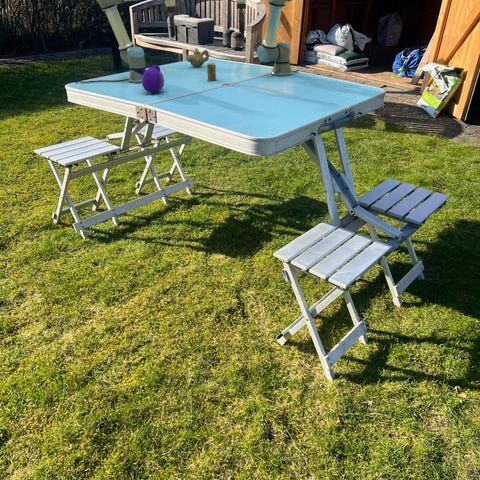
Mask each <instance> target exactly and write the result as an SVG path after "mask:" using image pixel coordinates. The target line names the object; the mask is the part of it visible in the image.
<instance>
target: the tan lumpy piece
mask: <svg viewBox="0 0 480 480" xmlns="http://www.w3.org/2000/svg"><path fill="white" fill-rule="evenodd" d="M204 54H205V56H204ZM209 59H210V54H209V51H208V50H207V49H204V50H202V51H200V50H199V49H198V48H195V49H194V51H193V54H191V53H190V54H187V56H186V57H185V60H186V62H188V63H190V65H191V67H192V68H193V67H194V68H200V67H202V66H203V65H204V64H205V63H206V62H208V61H209Z"/></svg>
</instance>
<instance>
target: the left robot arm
mask: <svg viewBox="0 0 480 480" xmlns="http://www.w3.org/2000/svg"><path fill="white" fill-rule="evenodd" d="M95 1H96V3H98V4H99V7H100V9H101V11H102V12H104V13H105V15H106V17H107V19H108V22H109V24H110V26H111V28H112V31H113V33H114V36H115V38H116V40H117V43H118V45H119V46H118V50H119V53H120V54H119V55H120V59H121V60H122V61H123V62H124V63H125V64H128V66H129V76H128V78H124V79H118V80H117V79H116V80H115V79H114V80H107V79H105V80H104V79H99V80H97V79H96V80H88V81H86V80H85V81H82V80H76V81H75V82H74V84H77V83H82V84H88V83H99V82H100V83H101V82H103V83H105V82H106V83H115V82H116V83H118V82H119V83H120V82H125V81H126V82H127V81H128V82H129V83H133V84H142V76H143V75H141V74H139V73H137V72H135V71H134V70H147V67H146V59H145V52H144V51H145V50H144V49H143V48H142V47H140V46H135V44H134V42H132V41H131V39H130V37H129V34H128V33H127V29H126V28H125V25H124V23H123V21H122V18H121V15H120V13H119V10H118V4H124V3H125V2H133V1H137V0H95ZM164 4H165V12H166V13H169V14H168V20H169V27H168V28H169V31H170V39H175V38H176V28H175V27H176V24H175V14H174V13H176V12H177V7H176V0H164Z"/></svg>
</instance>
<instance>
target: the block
mask: <svg viewBox="0 0 480 480" xmlns="http://www.w3.org/2000/svg"><path fill="white" fill-rule="evenodd" d="M206 70H207V71H206V72H207V82H216V81H217V75H216V73H217V71H216V70H217V69H216V63H215V62H210V63H206Z"/></svg>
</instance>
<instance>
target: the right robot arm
mask: <svg viewBox="0 0 480 480" xmlns="http://www.w3.org/2000/svg"><path fill="white" fill-rule="evenodd" d="M267 1H268V5H269V11H268V16H267V22H266V29H265V33H264V40H262V41H261V45H259V46H258V47H257V49H256V55H257V58H258V60H259V61H260V62H261V63H271V62H272V63H273V62H274V64H273V68H272V71H271V75H272V76H276V77H288V76H291V75H292V72H293V73H297V72H300V70H299V69H297V70H293V69H292V68H291V65H290V64H291V63H290V62H291V61H290V59H291V45H290V43H288V42H281V41H277V37H278V32H279V27H280V21H281V15H282V10H283V8H284V7H285V6H286V2H292V1H293V0H267ZM235 2H236V4H235V5H236V9H237V10H238V33H240V35H245V9H247V0H236V1H235Z"/></svg>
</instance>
